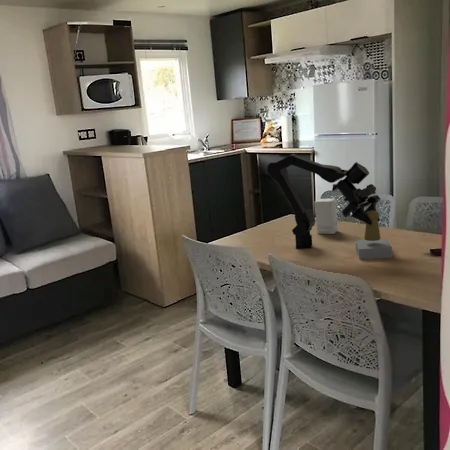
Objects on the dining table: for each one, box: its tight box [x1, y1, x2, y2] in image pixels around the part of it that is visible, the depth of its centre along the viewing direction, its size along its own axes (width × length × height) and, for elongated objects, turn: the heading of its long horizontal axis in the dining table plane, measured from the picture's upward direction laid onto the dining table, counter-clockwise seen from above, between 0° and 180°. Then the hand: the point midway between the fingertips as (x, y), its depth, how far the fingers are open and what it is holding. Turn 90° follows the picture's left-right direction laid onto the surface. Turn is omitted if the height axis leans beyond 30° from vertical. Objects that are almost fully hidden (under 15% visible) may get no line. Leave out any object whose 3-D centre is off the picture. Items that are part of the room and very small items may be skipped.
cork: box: [363, 210, 381, 241], centre depth 190 cm, size 6×6×11 cm
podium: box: [355, 238, 393, 260], centre depth 193 cm, size 12×12×4 cm
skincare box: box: [314, 198, 339, 235], centre depth 228 cm, size 8×7×16 cm
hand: (375, 222), depth 189 cm, fingers closed on cork, 5 cm apart
